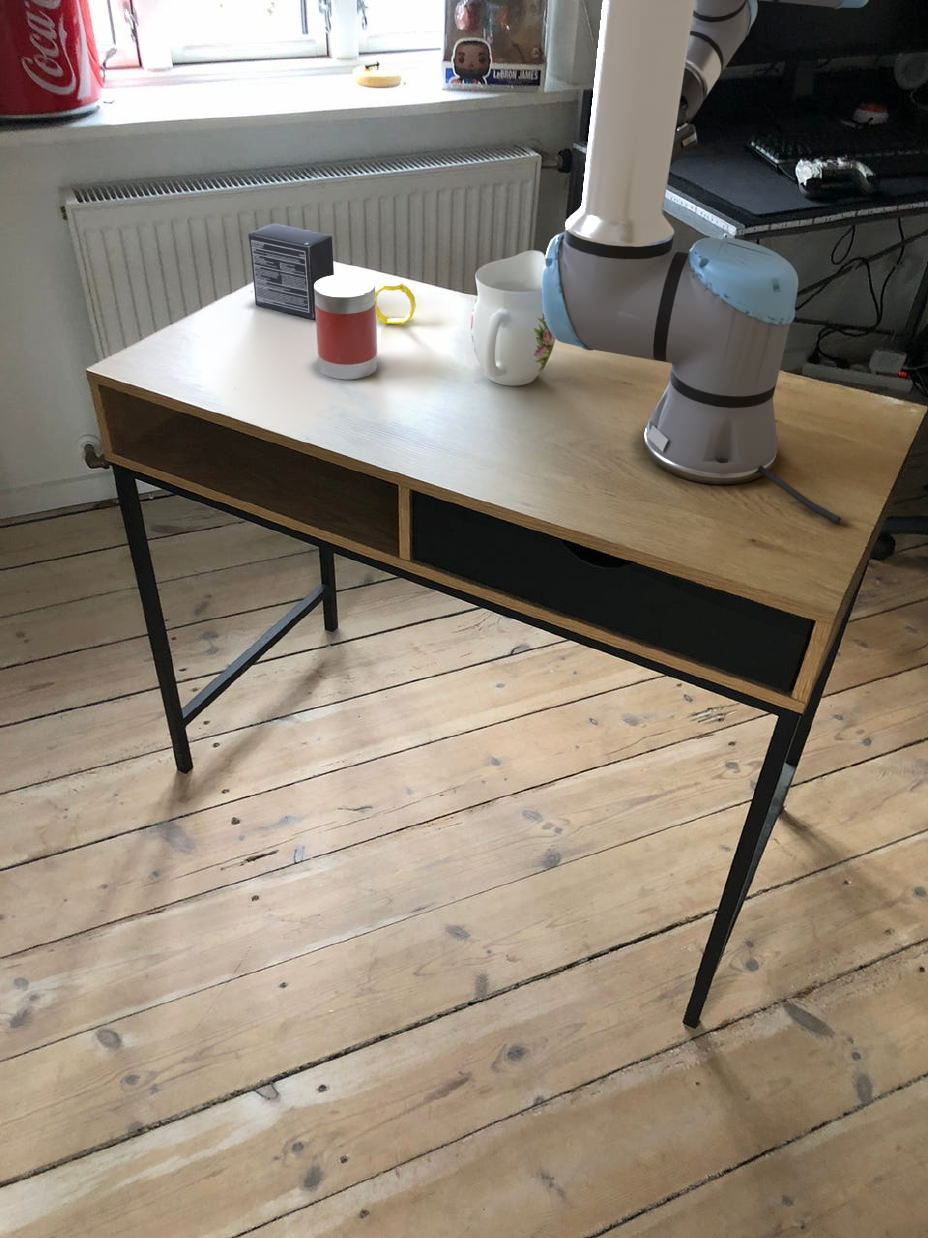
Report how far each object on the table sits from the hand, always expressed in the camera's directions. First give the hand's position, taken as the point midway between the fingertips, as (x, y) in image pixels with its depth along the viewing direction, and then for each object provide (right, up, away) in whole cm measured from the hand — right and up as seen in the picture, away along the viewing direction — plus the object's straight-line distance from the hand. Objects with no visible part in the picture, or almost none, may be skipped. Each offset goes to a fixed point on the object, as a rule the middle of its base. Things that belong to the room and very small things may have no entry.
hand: (588, 224), depth 126 cm
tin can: (-31, -15, +9) cm, 35 cm away
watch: (-25, -6, +21) cm, 33 cm away
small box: (-40, -3, +24) cm, 47 cm away
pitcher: (-10, -17, +8) cm, 21 cm away
